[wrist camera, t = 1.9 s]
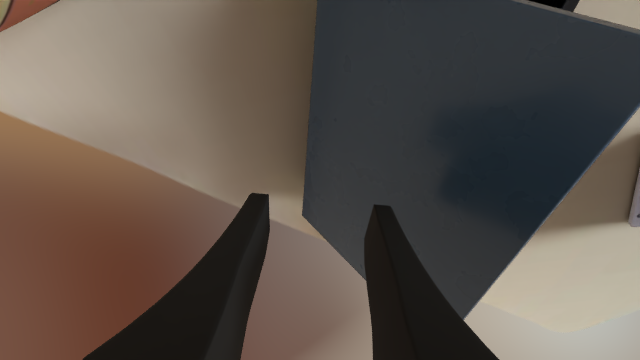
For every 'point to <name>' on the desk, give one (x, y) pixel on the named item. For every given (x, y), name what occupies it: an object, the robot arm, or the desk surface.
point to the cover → (459, 125)
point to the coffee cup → (20, 10)
